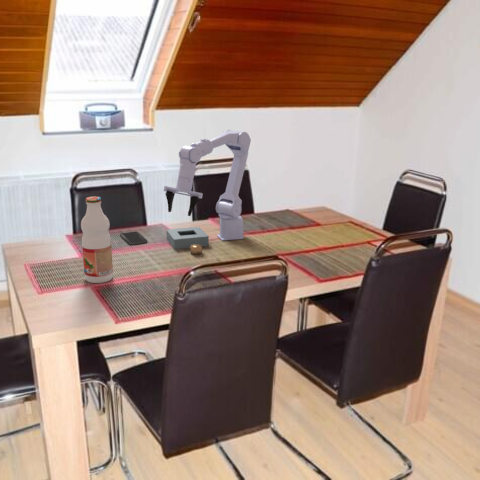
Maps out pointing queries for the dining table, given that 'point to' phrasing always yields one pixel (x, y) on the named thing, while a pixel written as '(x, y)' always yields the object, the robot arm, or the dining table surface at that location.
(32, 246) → the dining table surface
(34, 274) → the dining table surface
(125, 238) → the phone
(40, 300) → the dining table surface
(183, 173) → the robot arm
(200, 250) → the disc
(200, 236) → the box
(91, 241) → the fruit juice
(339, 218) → the dining table surface
